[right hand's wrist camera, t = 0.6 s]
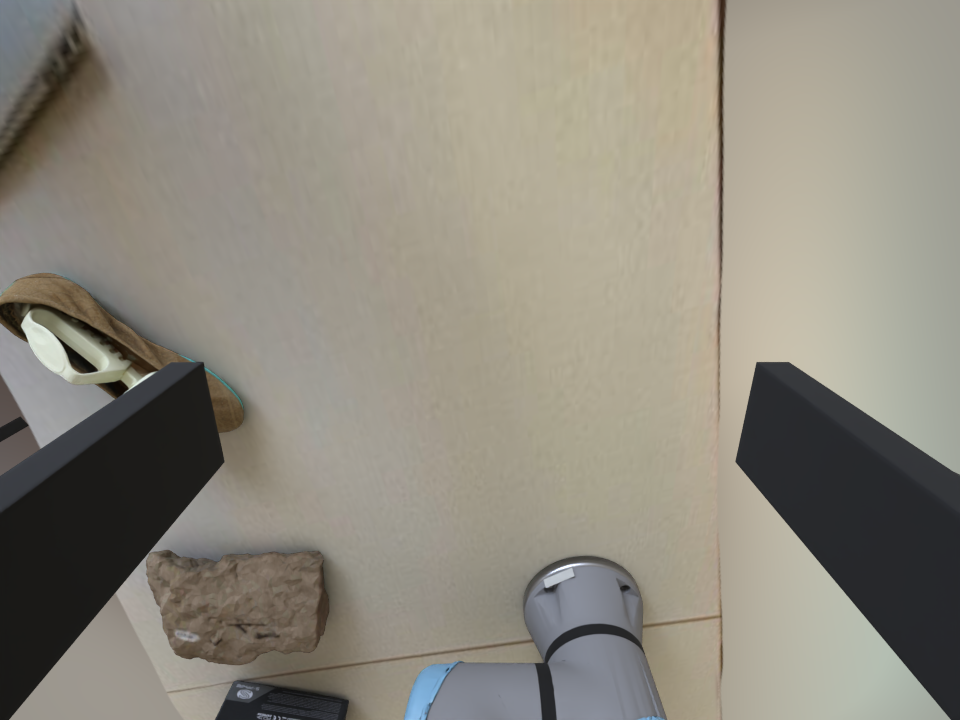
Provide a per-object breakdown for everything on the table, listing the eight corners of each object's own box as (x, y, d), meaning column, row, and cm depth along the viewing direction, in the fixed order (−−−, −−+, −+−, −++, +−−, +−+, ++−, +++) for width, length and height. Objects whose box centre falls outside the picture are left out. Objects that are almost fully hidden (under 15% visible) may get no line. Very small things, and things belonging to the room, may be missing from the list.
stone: (163, 649, 67) (141, 685, 61) (154, 542, 65) (130, 568, 59) (331, 633, 70) (326, 665, 64) (328, 531, 68) (322, 554, 62)
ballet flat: (219, 447, 60) (177, 493, 51) (20, 302, 53) (-64, 328, 45) (262, 401, 57) (225, 442, 49) (60, 244, 51) (-21, 261, 43)
